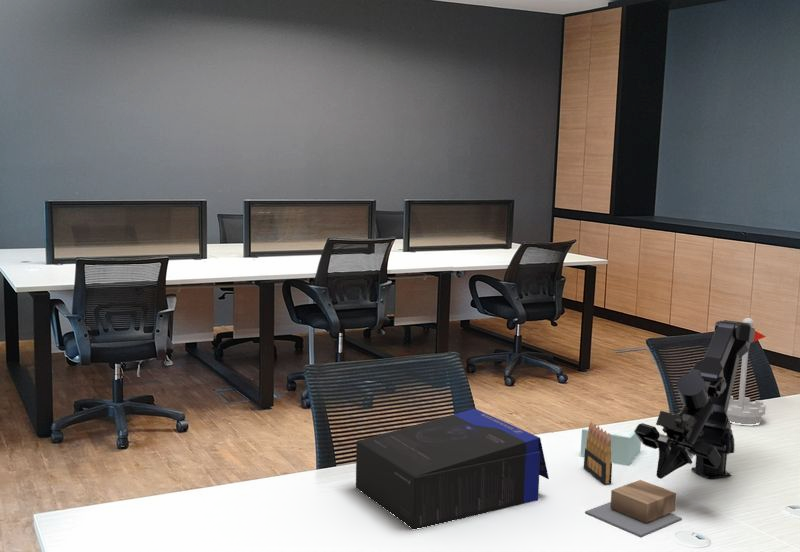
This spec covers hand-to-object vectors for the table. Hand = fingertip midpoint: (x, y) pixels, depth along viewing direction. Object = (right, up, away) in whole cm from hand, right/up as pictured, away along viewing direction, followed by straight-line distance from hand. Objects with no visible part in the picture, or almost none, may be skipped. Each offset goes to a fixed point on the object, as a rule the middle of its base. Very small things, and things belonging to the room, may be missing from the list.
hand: (658, 477), depth 184 cm
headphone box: (-44, -5, +6) cm, 45 cm away
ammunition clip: (-9, -4, +18) cm, 21 cm away
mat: (-6, -7, -4) cm, 11 cm away
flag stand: (+43, +1, +64) cm, 77 cm away
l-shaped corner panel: (-2, -3, +34) cm, 34 cm away
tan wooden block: (0, -4, +1) cm, 4 cm away
